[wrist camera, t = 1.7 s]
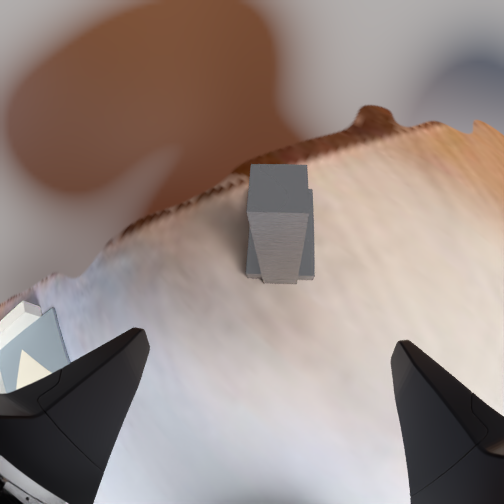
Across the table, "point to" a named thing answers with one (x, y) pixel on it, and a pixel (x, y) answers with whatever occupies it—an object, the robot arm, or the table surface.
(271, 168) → the bracket
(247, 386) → the table surface
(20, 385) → the mat
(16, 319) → the walls
